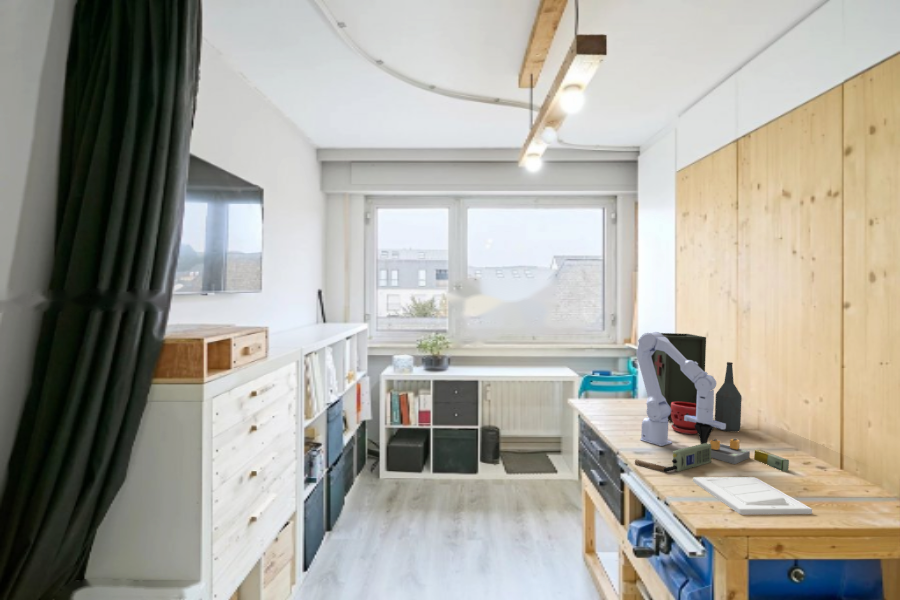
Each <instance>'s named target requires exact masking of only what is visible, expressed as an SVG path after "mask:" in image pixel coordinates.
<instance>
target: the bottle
mask: <svg viewBox="0 0 900 600" xmlns="http://www.w3.org/2000/svg"><path fill="white" fill-rule="evenodd" d="M724 376H725V377H724V380H723V381H724V382H723V384H722V385H721V386H720V388H719V389H718V391H717V392H716V393H715V399H714V409H715V410H714V420H715V421H718V422H721V423H725V424H726V429H724V430H723V429H720V428H716V427H714V429H717V430H720V431H723V432H729V433H730V432H731V433H738V431H739V432H740V431H741V421H742V394H741V392H740V391H739V390H738V387H736V384H735V383H734V370H733V362H731V361H730V362H729V361H727V362H726V369H725V375H724Z"/></svg>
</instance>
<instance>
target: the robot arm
mask: <svg viewBox="0 0 900 600" xmlns="http://www.w3.org/2000/svg"><path fill="white" fill-rule="evenodd" d="M661 333H662V332H659V331H654V332H644V333H643V334H642V335H641V336H640V337H639V339H638V340H637V341H638V346H637V349H636V350H637V351H636V358H637V361H638V362H637V363H638V364H639V365H638V366H639V368H640V373H641V376H642V380H643V384H644V388H645V391H646V394H647V399H646V403H645V404H646V415H647V417H644V418H643V420H642V422H641V432H640V433H641V437H640V439H639V440H640V441H643V442H646V443H650V444H652V445H656V446H660V447H663V446H667V445H670V444H673V441H670V440H668V439H669V436H668V435H669V421H668V416H669V415H670V414H671V408H670V406H669V405H668V404H667V402H666V399H665V398H664V397H663V395H662V394H661V390H660V386H659V383H658V379H657V376H656V372H655V368H654V365H653V361H652V358H651V356H652V355H653V353H654V352H655V351H656V350H660V351H664V352H665V353H667V354H668V355H669V356H670V357H671V358H672V359H673V360H675V361H676V362H677V363H678V364H679V365H680V368H681V371H682V372H683V373H684V374H685V375H686V376H687V377H688V378H689V379H690V380H691V381H692V382H693V383H695V388H696V389H697V405H696V416H689V415H685V416H684V421H690V422H695V423H696V425H695V428H696V430H697V432H698V433H697V435H698V437H699V442H700V444H704V443H708V441H709V437H710V436H711V433H712V432H713V430H714V429H717V428H720V429H723V430H724V429H726V424H725V423H721V422H718V421H715V419H714V409H715V388H717V387H716V386H717V381H716V380H717V379H715V378H714V376H713V375H710V374H708V372H707V371H705V372H704V371H703V370H702V369H701V368H700V367H699V366H698V363H697V362H693V361H692V360H687V359H686V358H685V357H684V356H683V355H682V354H681V353H680V352H679V351H678V350H677V349H676V348H675V347H674V346H673V345H672V344H671V343H670V341H669V340H668V339H667V338H666V337H664V336H663V335H662V334H661ZM715 427H716V428H715Z"/></svg>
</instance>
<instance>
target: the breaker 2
mask: <svg viewBox="0 0 900 600" xmlns="http://www.w3.org/2000/svg"><path fill="white" fill-rule="evenodd" d="M740 442H741V440H740V439H737V437H736V438H731V439H729V446H730V448H732V449H736V450H737V449H741V448H740V446H741V445H740V444H741V443H740Z"/></svg>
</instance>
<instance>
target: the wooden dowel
mask: <svg viewBox="0 0 900 600" xmlns="http://www.w3.org/2000/svg"><path fill="white" fill-rule="evenodd" d="M634 464H635V465H637V466H639V467H645V468H648V469H652V470H656V471H659V472H662V473H665V472H664V468H667V467H666V466H663V465H659V464H656V463H652V462H648V461H645V460H640V459H638V458H636V459H635V461H634Z"/></svg>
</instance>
